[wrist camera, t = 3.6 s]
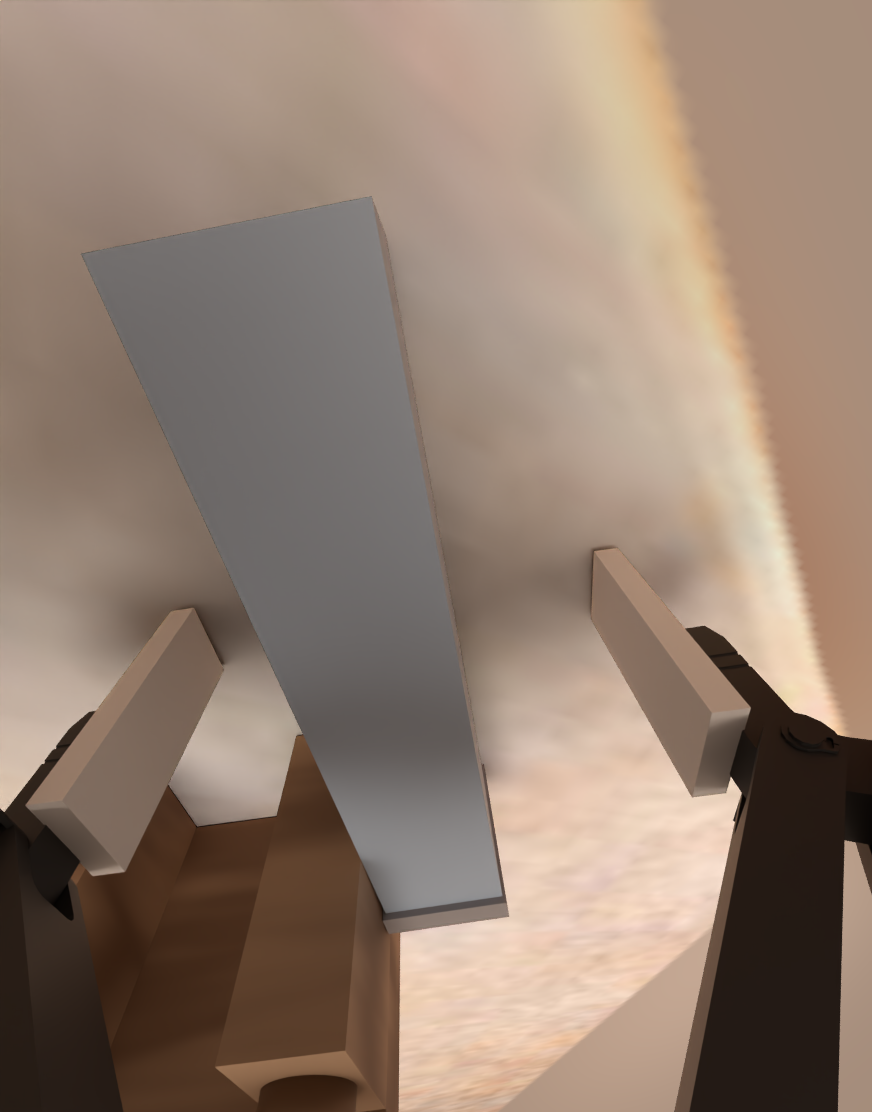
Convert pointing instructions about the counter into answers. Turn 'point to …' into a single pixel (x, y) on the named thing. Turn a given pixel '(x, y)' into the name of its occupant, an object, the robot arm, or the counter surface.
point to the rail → (324, 522)
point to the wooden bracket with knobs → (247, 962)
